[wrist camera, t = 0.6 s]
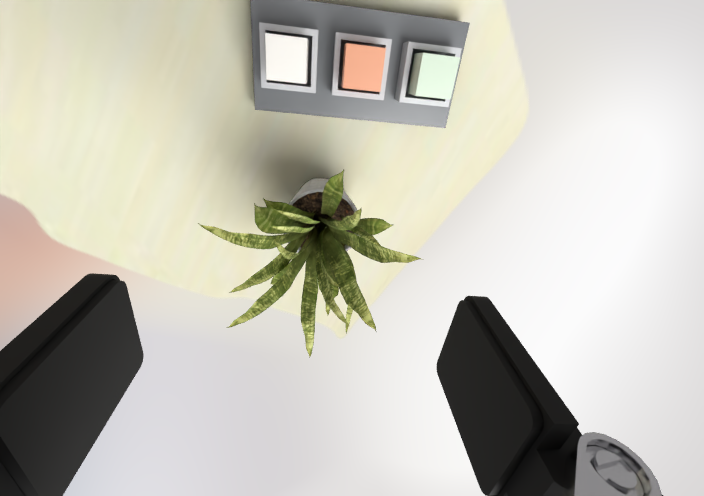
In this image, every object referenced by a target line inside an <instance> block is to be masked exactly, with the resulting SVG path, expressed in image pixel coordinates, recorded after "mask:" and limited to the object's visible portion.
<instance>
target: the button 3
mask: <svg viewBox="0 0 704 496" xmlns="http://www.w3.org/2000/svg"><path fill="white" fill-rule="evenodd" d="M459 62H460V57H453V56H445V55H437V54H429V53H416V54H414V59H413V65H412V71H411V77H410V83H409V89H408V93H409V94H412V95H414V96H422V97H431V98H440V99H449V100H451V96H452V92H453V88H454V83H455V79H456V75H457V70H458V66H459Z"/></svg>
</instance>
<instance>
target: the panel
mask: <svg viewBox="0 0 704 496" xmlns="http://www.w3.org/2000/svg"><path fill="white" fill-rule="evenodd" d="M251 24H252V47H253V71H254V95H255V110H265V111H275V112H286V113H296V114H306V115H317V116H327V117H337V118H347V119H358V120H368V121H378V122H389V123H399V124H409V125H420V126H430V127H440V128H445V127H446V123H447V119H448V114H449V110H450V106H451V101H452V97H453V93H454V88H455V84H456V80H457V75H458V71H459V67H460V62H461V58H462V54H463V49H464V45H465V41H466V36H467V32H468V28H469V23H467V22H460V21H453V20H446V19H438V18H431V17H424V16H417V15H410V14H402V13H395V12H388V11H381V10H374V9H366V8H359V7H352V6H345V5H338V4H330V3H323V2H316V1H309V0H251ZM265 33H269V34H277V35H285V36H293V37H301V38H307V39H308V40H309V42H308V75H307V83H306V84H302V83H292V82H283V81H274V80H266V43H265ZM346 43H349V44H357V45H365V46H373V47H381V48H386V52H385V60H384V68H383V75H382V83H381V91H380V92H375V91H366V90H357V89H348V88H343V87H342V86H341V82H342V69H343V56H344V45H345V44H346ZM416 53H429V54H437V55H445V56H453V57H460V62H459V66H458V70H457V75H456V79H455V83H454V88H453V92H452V96H451V100H449V99H440V98H431V97H422V96H414V95H412V94H409V93H408V89H409V83H410V77H411V71H412V65H413V59H414V54H416Z"/></svg>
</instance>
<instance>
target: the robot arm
mask: <svg viewBox="0 0 704 496" xmlns="http://www.w3.org/2000/svg"><path fill="white" fill-rule="evenodd" d="M142 362H143V350H142V346H141V342H140V338H139V334H138V330H137V326H136V322H135V318H134V314H133V310H132V306H131V302H130V298H129V294H128V290H127V286H126V284H125V282H124V281H120V279H119V278H118V277H117V276H116V275H108V274H88V275H86V276H85V277H84V278H82V279H81V280H80V281H79V282H78V283H77V284H76V285H75V286H73V287H72V288H71V289H70V290H69V291H68V292H67V293H66V294H64V295H63V296H62V297H61V298H60V299H59V300H58V301H56V303H54V304H53V305H52V306H51V307H50V308H48V309H47V310H46V311H45V312H44V313H43V314H42V315H41V316H39V317H38V318H37V319H36V320H35V321H34V322H33V323H32V324H31V325H29V326H28V327H27V328H26V329H25V330H24V331H22V332H21V333H20V334H19V335H18V336H17V337H16V338H14V339H13V340H12V341H11V342H10V343H9V344H8V345H7V346H5V347H4V348H3V349H2V350H1V351H0V496H63V493H64V492H65V491H66V489H67V487H68V486H69V484H70V482H71V481H72V479H73V477H74V476H75V474H76V472H77V471H78V469H79V468H80V466H81V464H82V462H83V461H84V459H85V458H86V456H87V454H88V452H89V451H90V449H91V448H92V446H93V444H94V443H95V441H96V439H97V438H98V436H99V435H100V433H101V431H102V430H103V428H104V426H105V425H106V423H107V421H108V420H109V418H110V416H111V415H112V413H113V411H114V410H115V408H116V406H117V405H118V403H119V402H120V400H121V398H122V397H123V395H124V393H125V391H126V390H127V388H128V387H129V385H130V383H131V382H132V380H133V378H134V377H135V375H136V373H137V372H138V370H139V368H140V367H141V364H142ZM437 373H438V376H439V379H440V382H441V384H442V387H443V390H444V393H445V395H446V398H447V400H448V403H449V406H450V409H451V411H452V414H453V416H454V419H455V422H456V425H457V427H458V430H459V433H460V435H461V438H462V441H463V443H464V446H465V448H466V451H467V454H468V457H469V459H470V462H471V465H472V467H473V470H474V473H475V475H476V478H477V481H478V483H479V486H480V488H481V490H482V492H483V493H484V494H485V495H487V496H663V495H662V494H661V490H660V487H659V484H658V482H657V479H656V478H655V476H654V475H653V473H652V471H651V470H650V469H649V467H648V466H647V465H646V464H645V463H644V462H643V461H642V459H641V458H640V457H639V456H637V455H636V454H635V453H634V452H633V451H632V450H630V449H629V448H628V447H627V446H625V445H624V444H622V443H620V442H619V441H617V440H616V439H613V438H611V437H609V436H607V435H604V434H600V433H595V432H592V433H585V434H584V435H582V434H581V433H580V431H579V430H578V428H577V426H578V425H579V423H578V422H577V420H576V419H575V418H574V416H573V415H572V413H571V412H570V411H569V409H568V408H567V407H566V405H565V404H564V402H563V401H562V400H561V398H560V397H559V395H558V394H557V393H556V391H555V390H554V388H553V387H552V386H551V384H550V383H549V382H548V380H547V379H546V377H545V376H544V374H543V373H542V372H541V370H540V369H539V367H538V366H537V365H536V363H535V362H534V361H533V359H532V358H531V356H530V355H529V354H528V352H527V351H526V349H525V348H524V347H523V345H522V344H521V342H520V341H519V340H518V338H517V337H516V335H515V334H514V333H513V331H512V330H511V329H510V327H509V326H508V324H507V323H506V322H505V320H504V319H503V317H502V316H501V315H500V313H499V312H498V310H497V309H496V308H495V306H494V305H493V304H492V302H491V301H490V299H489V298H487V297H478V296H467V297H466V298H465V299H464V300H462V301H460V302H459V304H458V306H457V310H456V312H455V315H454V318H453V320H452V323H451V326H450V329H449V331H448V334H447V337H446V339H445V342H444V345H443V348H442V351H441V353H440V356H439V359H438V362H437Z"/></svg>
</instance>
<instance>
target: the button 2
mask: <svg viewBox="0 0 704 496" xmlns="http://www.w3.org/2000/svg"><path fill="white" fill-rule="evenodd" d="M385 52H386V48H381V47H373V46H365V45H357V44H349V43H346V44H345V45H344V56H343V69H342V82H341V86H342V87H343V88H348V89H357V90H366V91H375V92H380V91H381V83H382V75H383V68H384V60H385Z"/></svg>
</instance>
